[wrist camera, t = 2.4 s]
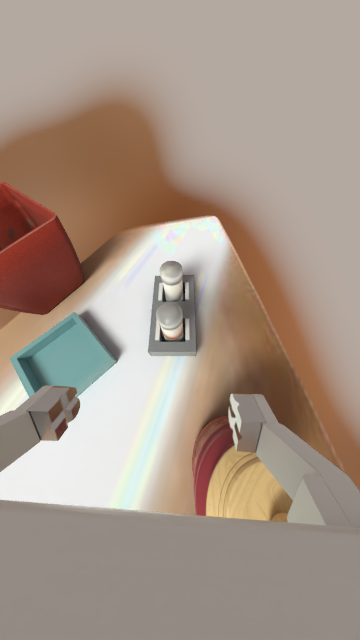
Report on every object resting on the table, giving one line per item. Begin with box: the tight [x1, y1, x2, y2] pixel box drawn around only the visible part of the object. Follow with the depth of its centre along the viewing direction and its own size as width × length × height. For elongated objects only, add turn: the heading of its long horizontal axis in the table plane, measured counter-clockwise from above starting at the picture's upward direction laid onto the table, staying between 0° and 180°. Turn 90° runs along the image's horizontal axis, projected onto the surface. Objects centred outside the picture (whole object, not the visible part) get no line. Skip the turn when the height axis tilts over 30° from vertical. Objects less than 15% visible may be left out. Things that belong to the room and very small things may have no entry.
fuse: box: [160, 261, 184, 302], centre depth 35 cm, size 4×4×10 cm
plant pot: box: [0, 182, 84, 315], centre depth 35 cm, size 19×19×17 cm
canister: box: [192, 416, 293, 522], centre depth 18 cm, size 13×13×18 cm
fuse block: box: [148, 275, 196, 356], centre depth 36 cm, size 18×9×3 cm, turn 179°
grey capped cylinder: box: [156, 302, 184, 342], centre depth 31 cm, size 4×4×10 cm
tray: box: [10, 312, 117, 398], centre depth 33 cm, size 14×14×3 cm
